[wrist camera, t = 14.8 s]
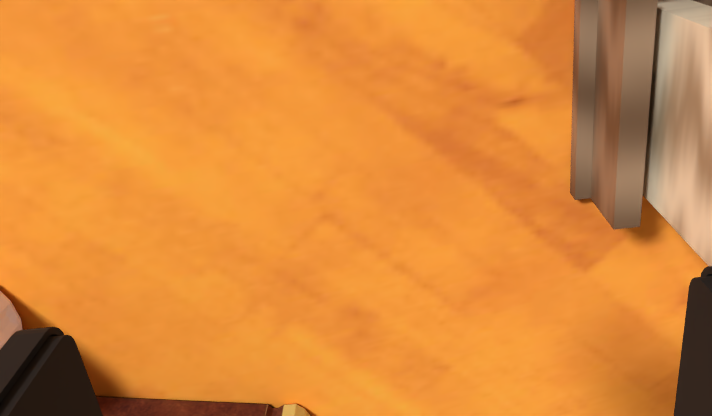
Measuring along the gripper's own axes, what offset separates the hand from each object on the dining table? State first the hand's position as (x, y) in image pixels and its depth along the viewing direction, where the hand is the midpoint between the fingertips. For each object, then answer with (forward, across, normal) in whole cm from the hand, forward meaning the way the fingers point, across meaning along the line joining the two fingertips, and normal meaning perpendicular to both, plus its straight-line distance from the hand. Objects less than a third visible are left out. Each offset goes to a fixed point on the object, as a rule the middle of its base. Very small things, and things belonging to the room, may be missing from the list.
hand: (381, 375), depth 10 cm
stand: (+28, -15, +5) cm, 32 cm away
